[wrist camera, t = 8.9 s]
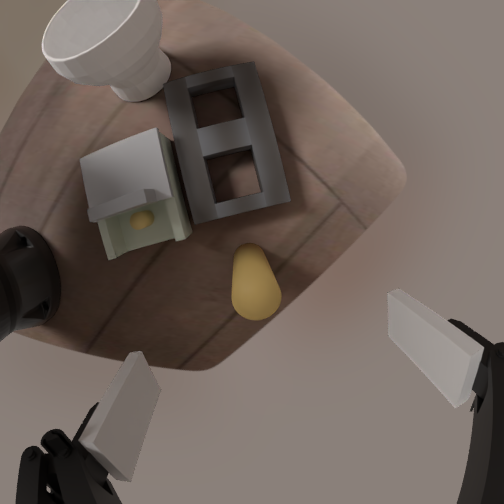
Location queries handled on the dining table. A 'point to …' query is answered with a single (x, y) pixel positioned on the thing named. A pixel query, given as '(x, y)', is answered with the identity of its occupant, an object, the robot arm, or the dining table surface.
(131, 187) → the lid
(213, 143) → the peg board
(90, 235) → the dining table surface
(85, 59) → the cup
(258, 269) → the peg
